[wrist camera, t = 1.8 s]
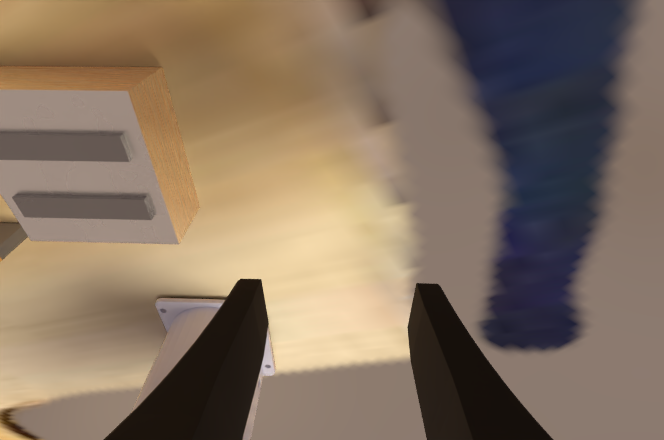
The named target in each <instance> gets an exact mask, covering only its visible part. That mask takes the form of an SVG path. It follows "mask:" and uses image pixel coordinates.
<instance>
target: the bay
mask: <svg viewBox="0 0 664 440" xmlns="http://www.w3.org/2000/svg"><path fill="white" fill-rule="evenodd" d="M27 237H28V235H27V234H26V232H25V231H24V229H23V228H22V226H21V225H20V223H0V262H1V261H2V260H3V259H4V258H5V257H6V256H7V255H8V254H9V253H10V252H11V251H13V250H14V249H15V248H16V247H17V246H18V245H19V244H20V243H21V242H22V241H23V240H25V239H26V238H27Z"/></svg>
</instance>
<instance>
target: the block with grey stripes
mask: <svg viewBox="0 0 664 440" xmlns="http://www.w3.org/2000/svg"><path fill="white" fill-rule="evenodd" d="M0 194H1V195H2V197H3V199H4V200H5V202H6V203H7V205H8V206H9V208H10V209H11V211H12V212H13V214H14V215H15V217H16V218H17V220H18V222H19V223H20V225H21V226H22V228H23V229H24V231H25V232H26V234H27V235H28V237H29V238H30V240H31V241H63V242H106V243H148V244H179V243H180V242H181V240H182V238H183V236H184V235H185V233H186V231H187V229H188V227H189V226H190V224H191V222H192V220H193V219H194V217H195V215H196V213H197V211H198V210H199V208H200V205H199V202H198V198H197V194H196V190H195V187H194V183H193V179H192V176H191V172H190V168H189V164H188V161H187V157H186V153H185V149H184V146H183V142H182V138H181V135H180V131H179V127H178V123H177V120H176V116H175V112H174V108H173V105H172V101H171V97H170V94H169V90H168V86H167V82H166V79H165V75H164V71H163V67H60V66H0Z"/></svg>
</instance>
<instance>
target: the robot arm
mask: <svg viewBox="0 0 664 440" xmlns="http://www.w3.org/2000/svg"><path fill="white" fill-rule="evenodd" d="M155 307H156V309H157V311H158V313H159V316H160V318H161V320H162V322H163V324H164V327H165V329H166V331H167V335H166V337H165V340H164V342H163V344H162V346H161V348H160V350H159V353H158V355H157V357H156V359H155V361H154V363H153V366H152V368H151V370H150V372H149V374H148V376H147V379H146V381H145V383H144V385H143V387H142V389H141V392H140V394H139V396H138V398H137V400H136V402H135V405H134V407H133V409H132V411H131V413H130V415H129V416H128V417H127V418H126V419H125V420H124V421H122V422H121V423H120V424H119V425H118V426H117V427H116V428H115V429H114V430H113V431H112V432H111V433H110V434H109V435H108V436H107V437H106V438H105V439H104V440H251V435H252V430H253V424H254V419H255V414H256V409H257V404H258V399H259V394H260V389H261V384H262V379H263V375H264V376H272V375H274V374H275V363H274V358H273V352H272V346H271V340H270V334H269V328H268V324H269V323H268V317H267V311H266V305H265V299H264V293H263V287H262V281H261V279H240V280H239V281H237V283H236V285H235V286H234V288H233V289H232V291H231V292H230V294H229V295H228V297H227V298H226V300H220V299H183V298H159V299H157V301H156V303H155ZM408 337H409V348H410V357H411V364H412V369H413V374H414V379H415V384H416V389H417V394H418V399H419V403H420V408H421V412H422V418H423V423H424V428H425V432H426V437H427V440H553V439H552V438H551V437H550V436H549V434H547V432H546V431H545V430H544V429H543V428H542V427H541V426H540V424H539V423H538V422H537V421H536V420H535V419H534V418H533V417H532V415H531V414H530V413H529V412H528V411H527V409H526V408H525V407H524V406H523V405H522V404H521V403H520V401H519V400H518V399H517V398H516V396H515V395H514V394H513V393H512V391H511V390H510V389H509V388H508V386H507V385H506V384H505V383H504V381H503V380H502V379H501V377H500V376H499V375H498V373H497V372H496V371H495V369H494V368H493V367H492V365H491V364H490V363H489V361H488V360H487V359H486V357H485V356H484V354H483V353H482V352H481V350H480V349H479V347H478V346H477V344H476V343H475V341H474V340H473V339H472V337H471V336H470V334H469V333H468V331H467V330H466V328H465V327H464V325H463V323H462V322H461V320H460V319H459V317H458V316H457V314H456V313H455V311H454V309H453V307H452V306H451V304H450V303H449V301H448V299H447V297H446V295H445V294H444V292H443V290H442V288H441V287H440V286H439V285H438V284H422V283H417V284H416V288H415V293H414V298H413V303H412V308H411V313H410V318H409V323H408Z"/></svg>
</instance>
